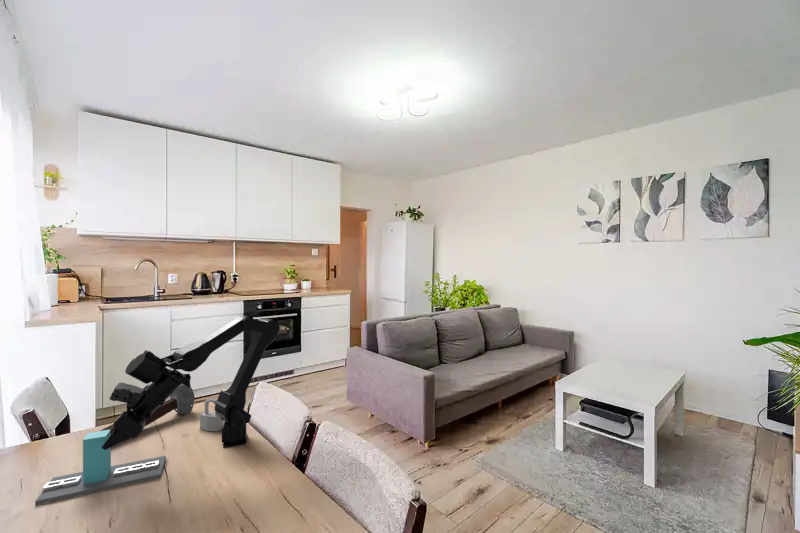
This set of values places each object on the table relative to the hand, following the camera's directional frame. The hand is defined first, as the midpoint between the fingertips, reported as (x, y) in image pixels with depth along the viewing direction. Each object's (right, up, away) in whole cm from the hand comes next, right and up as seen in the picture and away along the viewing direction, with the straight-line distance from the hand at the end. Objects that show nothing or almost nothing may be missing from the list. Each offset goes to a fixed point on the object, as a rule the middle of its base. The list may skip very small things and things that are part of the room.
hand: (109, 440), depth 93 cm
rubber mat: (0, -10, 0) cm, 10 cm away
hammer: (-10, -10, +29) cm, 33 cm away
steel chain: (-1, -9, 0) cm, 9 cm away
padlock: (+11, -10, +29) cm, 32 cm away
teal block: (-2, -9, -1) cm, 9 cm away
